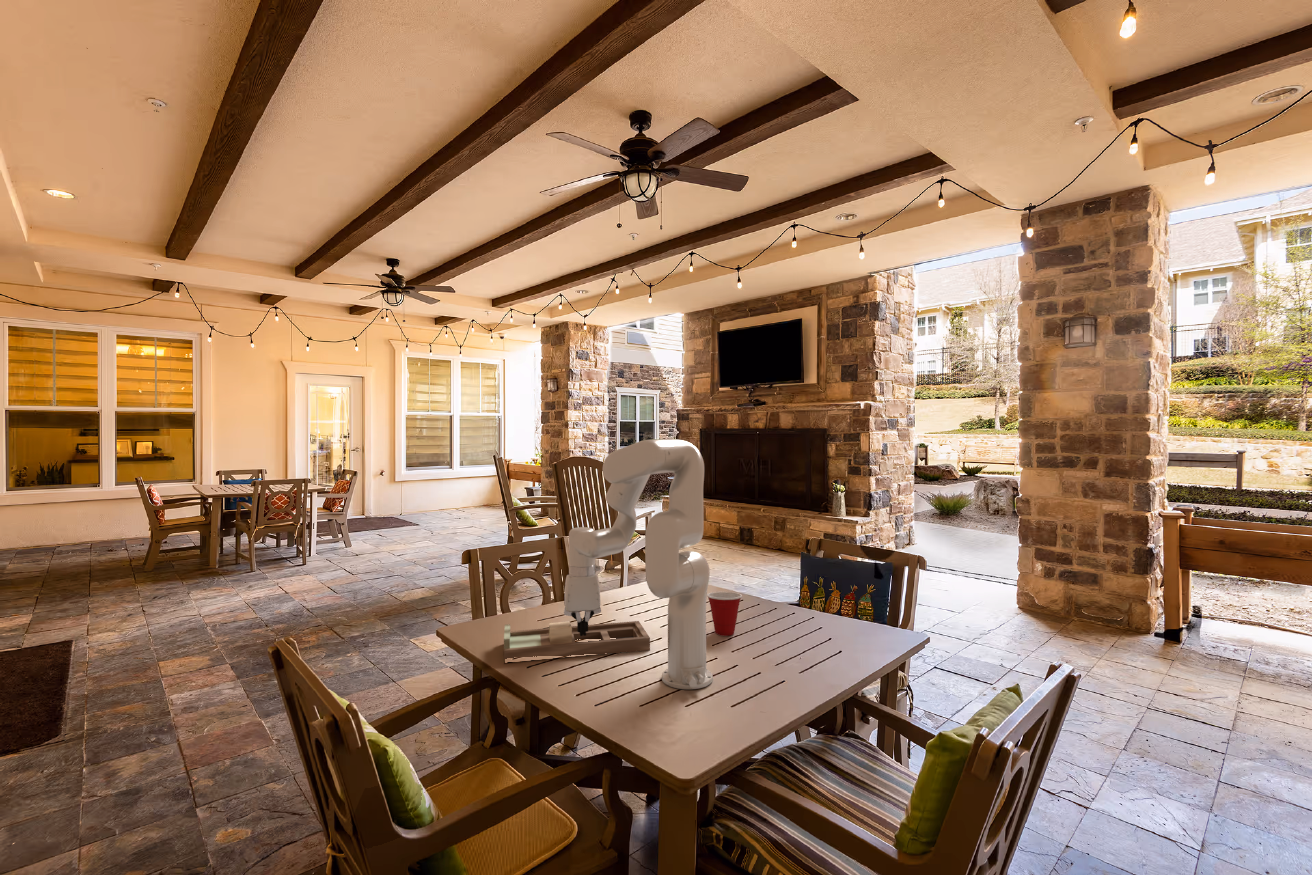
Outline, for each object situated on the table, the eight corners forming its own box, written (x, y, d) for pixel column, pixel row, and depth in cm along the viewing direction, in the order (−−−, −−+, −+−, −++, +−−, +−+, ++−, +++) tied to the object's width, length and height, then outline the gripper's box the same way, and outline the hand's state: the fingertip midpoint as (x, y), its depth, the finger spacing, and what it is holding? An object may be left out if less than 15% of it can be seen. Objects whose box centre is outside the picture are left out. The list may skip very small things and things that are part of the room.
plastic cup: (741, 627, 186) (741, 589, 186) (743, 639, 176) (743, 598, 176) (707, 626, 188) (706, 588, 188) (706, 638, 177) (706, 597, 177)
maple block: (571, 642, 167) (571, 627, 167) (550, 643, 166) (550, 629, 166) (570, 635, 173) (569, 621, 173) (549, 636, 171) (549, 623, 171)
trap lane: (650, 650, 167) (649, 628, 167) (503, 663, 158) (503, 641, 158) (638, 632, 183) (638, 612, 183) (505, 643, 173) (504, 623, 173)
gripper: (606, 566, 176) (606, 628, 176) (555, 569, 173) (555, 632, 173) (609, 572, 169) (610, 636, 169) (556, 575, 165) (557, 640, 165)
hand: (582, 634), depth 171 cm, fingers closed
